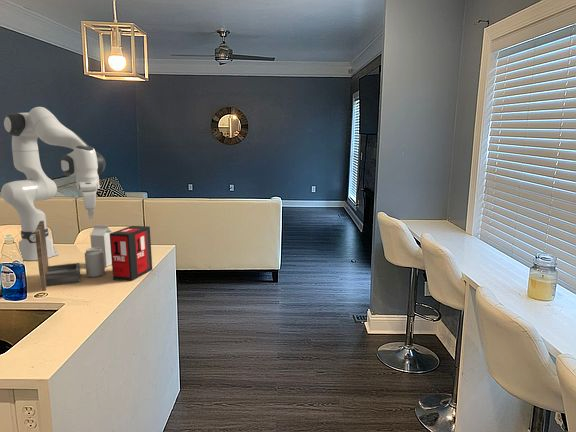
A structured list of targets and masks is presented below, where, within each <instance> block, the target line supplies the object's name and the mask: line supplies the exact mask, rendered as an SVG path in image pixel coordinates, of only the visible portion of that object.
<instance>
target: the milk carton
mask: <svg viewBox="0 0 576 432" xmlns="http://www.w3.org/2000/svg"><path fill="white" fill-rule="evenodd" d="M113 232H114V231H112V230H111V229H110V228H109V225H105V224H103V225H102V224H100V225H99V224H94V225H93V229H92V231H91V232H90V235H89V236H90V246H91V247H90V248H95V247H99V248H101V250H102V251H103V254H104V266H105V268H108V267H109V266H112V258H111V246H110V233H113Z"/></svg>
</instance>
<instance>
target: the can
mask: <svg viewBox="0 0 576 432" xmlns="http://www.w3.org/2000/svg"><path fill="white" fill-rule="evenodd" d="M84 260H85V261H84V262H85V271H86V275H87V276H88V278H99V277H100V278H101V277H103V275H105V274H106V267H105V266H104V254H103V251H102V250H101V248H99V247H95V248H91V247H90V248H89V247H88V248H86V250H85V253H84Z"/></svg>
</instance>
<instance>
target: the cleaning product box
mask: <svg viewBox="0 0 576 432" xmlns="http://www.w3.org/2000/svg"><path fill="white" fill-rule="evenodd" d="M112 232H113V233H110V246H111V258H112V264H111V268H112V269H111V271H112V279H113V281H124V280H125V281H126V282H127V281H128V282H133V281H135V280H136V279H138V278H140V277H142V276H143V275H146V274H147V273H149V272H151V271H153V256H152V242H151V241H152V240H151V227H150V226H146V225H130V226H127V227H125V228H124V227H123V228H122V229H119V230H116V231H112Z"/></svg>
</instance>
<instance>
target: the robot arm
mask: <svg viewBox="0 0 576 432" xmlns="http://www.w3.org/2000/svg"><path fill="white" fill-rule="evenodd" d="M3 127H4V130H5V132H6V133H7V134H8V135H10V136H11V150H12V153H11V154H12V160H13V166H14V168H15V169H16V170H17V171H19V172H21V173H23V174H24V176H25V177H26V179H22V180H14V181H10V182H7V183H4V184H3V185H2V187H1V189H0V195H1V198H2V199H3V200H4V202H6V203H7V204H9V205H11V206H12V207H13V208H14V209H15V210H16V212H17V214H18V216H19V221H20V228H21V230H20V237H21V239H20V241H18V251H19V250H20V252H21V255H22V258H23V260H22V261H38V256H37V247H36V238H35V230H36V228H37V226H38V224H39V222H40V221H44V227H45V237H46V246H47V256H48V259H49V258H52V257H57V256H59V252H58V251H57V250H56V249H55V245H54V244H53V239H52V238H51V237H50V236H49V235H50V234H49V233H50V232H49V228H47V227H48V226H47V225H48V224H47V216H46V213H45V212H44V211H43V210H41V209H38V208H36V207H35V204H34V202H40V201H47V200H50V199H53V198H55V196H56V195H57V192H58V187H57V183H56V182H55V181H54V180H52V179H51V178H49V177H48V175H47V174H46V173H45V171H44V170H43V168H42V164H41V161H40V153H39V145H38V140H39V139H40V141H42V142H43V143H45V144H47V145H51V146H55V147H56V146H58V147H64V148H69V149H71V150H73V151H71V152H69V153H67V154H64V155H63V156H62V157H61V159H60V163H59V165H60V170H61V171H62V173H63V174H64V175H65V176H68V177H75V181H76V182H75V183H76V190H77V191H80V194H81V195H82V199H83V204H84V208H85V210H87V214H88V219H89V220H93V219H94V210H95V209H96V202H97V201H96V199H97V198H96V196H97V193H98V189H100V188H101V187H100V185H101V184H100V177H99V175H101V174H102V173H103V172H104V171H105V169H106V165H107V164H106V159H105V158H104V157H103V155H102V154H101V153H100V152H98V151H96V150H95V148H94V147H93V146H91V145H90V144H88V143H87V142H86V141H85V140H84V139H83V138H82V137H81V136H80V135H79V134H77V133H76V132H74V131H72V130H71V129H69V128H68V127H66V126H65V125H64V124H62V122H60V121H59V120H58V118H57V117H56V116H55V115H54V114H53V113H52V112H51V111H50V110H49V109H48V108H46V107H43V106H36V107H33V108H32V109H30V110H29V112H11V113H7V114H6V115H5V117H4V119H3Z"/></svg>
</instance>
